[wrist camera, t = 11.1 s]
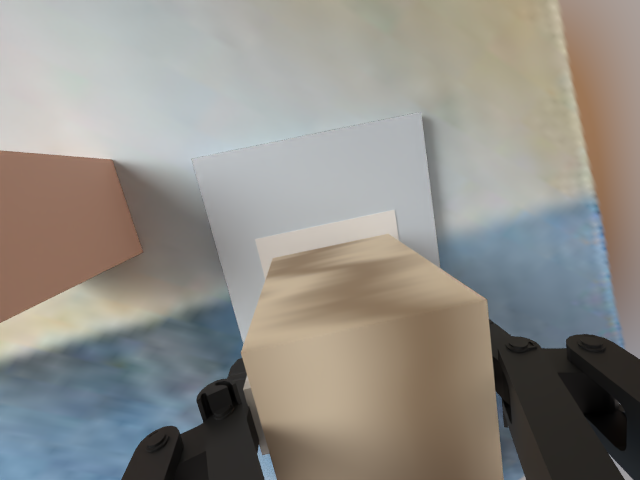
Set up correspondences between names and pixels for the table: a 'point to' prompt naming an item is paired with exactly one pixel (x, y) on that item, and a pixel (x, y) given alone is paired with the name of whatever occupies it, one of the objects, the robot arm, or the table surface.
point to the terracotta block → (58, 226)
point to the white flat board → (315, 199)
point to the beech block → (373, 367)
